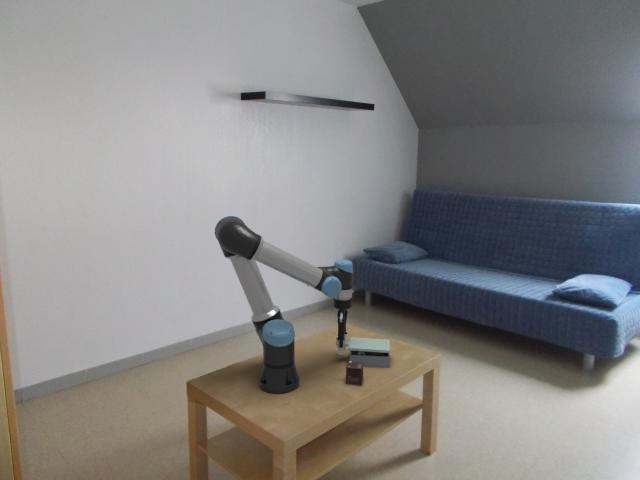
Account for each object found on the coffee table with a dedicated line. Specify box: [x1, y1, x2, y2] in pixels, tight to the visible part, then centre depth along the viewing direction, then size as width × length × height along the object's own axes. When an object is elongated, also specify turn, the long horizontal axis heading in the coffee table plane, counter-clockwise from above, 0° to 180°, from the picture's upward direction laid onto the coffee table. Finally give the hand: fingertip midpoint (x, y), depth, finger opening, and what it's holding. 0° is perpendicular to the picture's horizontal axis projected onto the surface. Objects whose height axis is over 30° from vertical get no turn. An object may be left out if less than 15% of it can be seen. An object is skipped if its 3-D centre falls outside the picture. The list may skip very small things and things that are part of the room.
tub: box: [349, 350, 391, 369], centre depth 205 cm, size 16×11×5 cm
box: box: [345, 360, 364, 387], centre depth 187 cm, size 6×6×7 cm
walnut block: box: [371, 352, 383, 356], centre depth 204 cm, size 4×4×4 cm
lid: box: [335, 334, 391, 353], centre depth 204 cm, size 22×12×4 cm, turn 82°
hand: (341, 351), depth 206 cm, fingers closed on lid, 4 cm apart
